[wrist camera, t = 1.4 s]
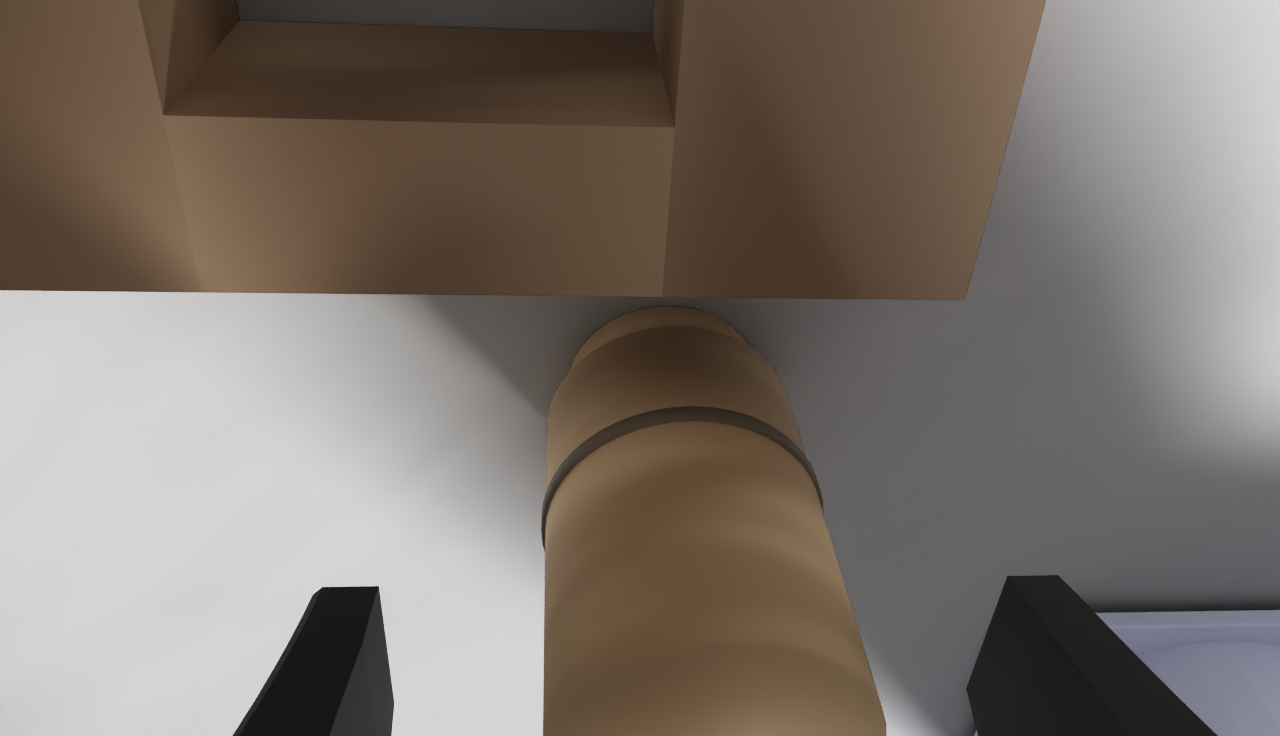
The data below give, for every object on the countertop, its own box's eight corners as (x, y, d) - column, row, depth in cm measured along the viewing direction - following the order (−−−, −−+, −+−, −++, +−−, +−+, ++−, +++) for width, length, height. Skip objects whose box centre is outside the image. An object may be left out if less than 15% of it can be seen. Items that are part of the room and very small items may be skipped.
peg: (797, 287, 15) (924, 634, 10) (766, 478, 17) (858, 847, 12) (543, 283, 15) (537, 641, 10) (543, 478, 17) (538, 859, 12)
